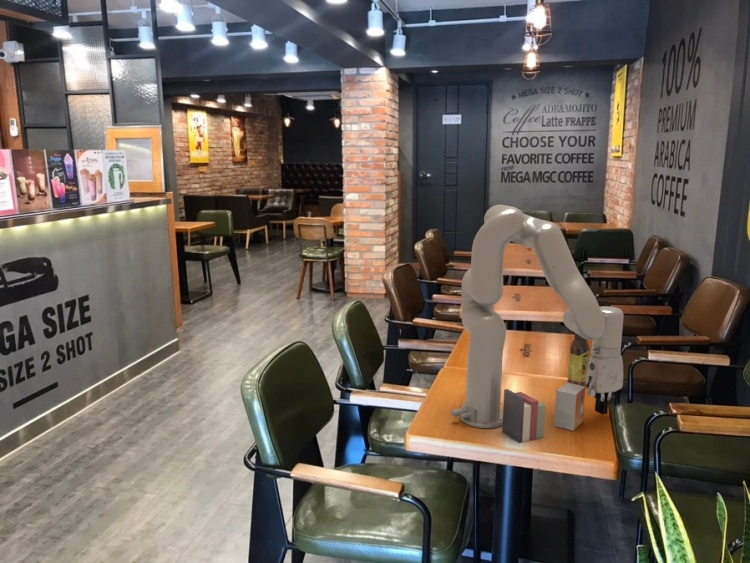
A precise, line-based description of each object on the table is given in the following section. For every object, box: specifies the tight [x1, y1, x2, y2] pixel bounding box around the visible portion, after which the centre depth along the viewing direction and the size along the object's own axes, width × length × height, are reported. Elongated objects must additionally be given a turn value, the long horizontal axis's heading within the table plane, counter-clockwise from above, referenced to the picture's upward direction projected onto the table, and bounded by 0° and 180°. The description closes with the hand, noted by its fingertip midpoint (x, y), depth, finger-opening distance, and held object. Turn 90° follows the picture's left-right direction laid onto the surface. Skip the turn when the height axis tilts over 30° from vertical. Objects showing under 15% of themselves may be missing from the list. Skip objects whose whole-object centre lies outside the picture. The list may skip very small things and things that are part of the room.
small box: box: [553, 382, 586, 432], centre depth 160 cm, size 8×6×10 cm
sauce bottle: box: [567, 332, 591, 387], centre depth 190 cm, size 6×6×20 cm
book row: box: [501, 388, 546, 444], centre depth 153 cm, size 8×7×12 cm
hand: (601, 412), depth 166 cm, fingers closed
